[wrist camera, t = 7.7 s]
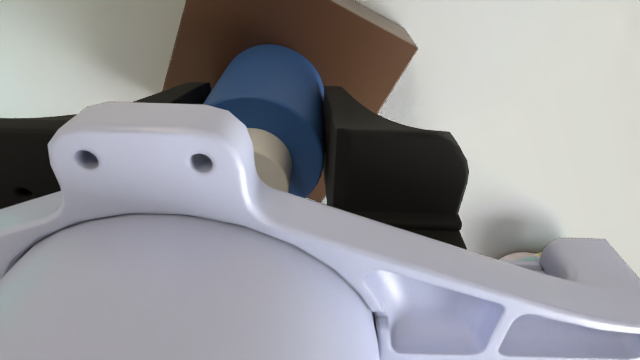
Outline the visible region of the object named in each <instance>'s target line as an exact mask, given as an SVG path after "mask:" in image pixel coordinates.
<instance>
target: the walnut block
mask: <svg viewBox="0 0 640 360" xmlns="http://www.w3.org/2000/svg"><path fill="white" fill-rule="evenodd" d="M268 44H272V45H280V46H284V47H287V48H290V49H292V50H294V51H296V52H298V53H300V54H301V55H302V56H304V57H305V58H306V59H307V60H308V61H309V62H310V63H311V64H312V65H313V66H314V67H315V69H316V70H317V72H318V74H319V76H320V78H321V80H322V84H323V87H324V86H342V87H343V88H344V89H345V90H346V91H347V92H348V93H349V94H350V95H351V96H352V97H353V98H354V99H356V100H357V101H358V102H359V103H361V104H362V105H363V106H365V107H366V108H367V109H369V110H370V111H372V112H374V113H375V114H378V112H379V110H380V109H381V107H382V106H383V104H384V102H385V101H386V99H387V98H388V96H389V95H390V93H391V91H392V90H393V88H394V87H395V85H396V84H397V82H398V80H399V79H400V77H401V76H402V74H403V72H404V71H405V69H406V68H407V66H408V65H409V63H410V61H411V60H412V58H413V57H414V55H415V54H416V52H417V50H418V47H417V46H416V44H415V43H414V41H413V40H412V39H411V37H410V36H409V34H408V33H407V31H406V30H405V29H404V28H403V27H401V26H399V25H398V24H396V23H394V22H392V21H390V20H389V19H387V18H385V17H383V16H381V15H380V14H378V13H376V12H374V11H372V10H371V9H369V8H367V7H365V6H363V5H362V4H360V3H358V2H356V1H354V0H186V3H185V7H184V11H183V14H182V18H181V22H180V26H179V30H178V33H177V37H176V41H175V45H174V49H173V52H172V56H171V60H170V64H169V68H168V71H167V75H166V79H165V83H164V87H163V90H162V91H165V90H167V89H170V88H173V87H175V86H178V85H181V84H184V83H188V82H210V86H211V91H212V89H213V88H214V86H215V85H216V83H217V82H218V80H219V79H220V77H221V76H222V74H223V73H224V71H225V70H226V68H227V67H228V65H229V64H230V63H231V61H232V60H233V59H234V58H235V57H236V56H237V55H239V54H240V53H241V52H243V51H245V50H247V49H249V48H251V47H254V46H259V45H268ZM325 196H326V189H325V181H324V172H323V171H322V175H321V178H320V180H319V182H318V184H317V185H316V187H315V189H314V190H313V191H312V192H311V193H310V195H309V196H308V197H307V198H310V199H312V200H315V201H317V202H320V203H321V202H322V200H323V199H324V197H325Z"/></svg>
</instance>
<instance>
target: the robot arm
mask: <svg viewBox="0 0 640 360" xmlns="http://www.w3.org/2000/svg"><path fill="white" fill-rule="evenodd" d="M210 92H211V86H210V82H188V83H184V84H181V85H178V86H175V87H173V88H170V89H167V90H165V91H162V92H160V93H157V94H154V95H152V96H149V97H146V98H143V99H140V100H137V101H134V102H104V103H100V104H95V105H91V106H87V107H86V108H85V109H83V110H82V111H81V112H79V113H78V114H75V115H66V116H57V117H43V118H13V119H10V118H0V360H640V278H639V277H638V276H637V275H636V274H635V273H634V272H633V270H632V269H631V268H630V267H629V266H628V265H627V263H626V262H625V261H624V260H623V259H622V258H621V257H620V255H619V254H618V253H617V252H616V251H615V250H614V249H613V247H612V246H611V245H610V244H609V243H608V242H607V240H606V239H594V238H558V239H555V240H553V241H551V242H549V243H548V244H547V245H546V246H545V248H544V249H543V251H542V253H541V256H540V259H539V261H510V260H497V259H494V258H491V257H488V256H485V255H482V254H478V253H475V252H472V251H469V250H467V248H466V246H465V244H464V241H463V239H462V237H461V234H460V232H459V230H461V227H462V222H461V220H460V217H459V215H458V212H459V208H460V205H461V202H462V199H463V195H464V192H465V189H466V185H467V181H468V174H469V169H468V164H467V160H466V158H465V156H464V154H463V152H462V150H461V149H460V147H459V145H458V143H457V142H456V140H455V139H454V137H453V136H452V135H451V133H450V132H444V131H433V130H424V129H419V128H414V127H409V126H405V125H402V124H399V123H396V122H393V121H390V120H388V119H385V118H383V117H381V116H379V115H377V114H375V113H374V112H372V111H370V110H369V109H367V108H366V107H365V106H363V105H362V104H361V103H359V102H358V101H357V100H356V99H354V98H353V97H352V96H351V95H350V94H349V93H348V92H347V91H346V90H345V89H344V88H343V87H342V86H324V101H323V118H324V165H323V172H324V181H325V189H326V198H327V205H325V204H322V203H318V202H315V201H312V200H309V199H306V198H303V197H300V196H296V195H293V194H290V193H287V192H284V191H281V190H278V189H275V188H271V187H269V186H268V185H266V184H265V183H264V182H263V181H262V180H261V179H260V178H259V176H258V174H257V171H256V167H255V160H254V148H253V143H252V140H251V138H250V135H249V133H248V130H247V128H246V125H244V124H243V123H242V122H241V121H240V120H239V119H237V118H236V117H235V116H234V115H233V114H232V113H230V112H229V111H228V110H224V109H220V108H216V107H213V106H209V105H205V104H203V103H204V101H205V100H206V98H207V97H208V95H209V94H210Z"/></svg>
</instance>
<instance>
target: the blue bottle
mask: <svg viewBox="0 0 640 360" xmlns="http://www.w3.org/2000/svg"><path fill="white" fill-rule="evenodd" d="M323 101H324V87H323V84H322V80H321V78H320V76H319V74H318V72H317V70H316V69H315V67H314V66H313V65H312V64H311V63H310V62H309V61H308V60H307V59H306V58H305V57H304V56H302V55H301V54H300V53H298V52H296V51H294V50H292V49H290V48H287V47H284V46H280V45H272V44H268V45H259V46H254V47H251V48H249V49H247V50H245V51H243V52H241V53H240V54H239V55H237V56H236V57H235V58H234V59H233V60H232V61H231V63H230V64H229V65H228V67H227V68H226V70H225V71H224V73H223V74H222V76H221V77H220V79H219V80H218V82H217V83H216V85H215V86H214V88H213V89H212V91H211V92H210V94H209V95H208V97H207V98H206V100H205V101H204V103H203V104H205V105H209V106H213V107H216V108H220V109H224V110H228V111H229V112H230V113H232V114H233V115H234V116H235V117H236V118H237V119H239V120H240V121H241V122H242V123H243V124H244V125H246V128H247V130H248V133H249V135H250V138H251V140H252V143H253V148H254V160H255V167H256V171H257V174H258V176H259V178H260V179H261V180H262V181H263V182H264V183H265V184H266V185H268V186H269V187H271V188H275V189H278V190H281V191H284V192H287V193H290V194H293V195H296V196H300V197H303V198H306V197H308V196H309V195H310V193H311V192H312V191H313V190H314V189H315V187H316V185H317V184H318V182H319V180H320V178H321V175H322V171H323V165H324V118H323Z"/></svg>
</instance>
